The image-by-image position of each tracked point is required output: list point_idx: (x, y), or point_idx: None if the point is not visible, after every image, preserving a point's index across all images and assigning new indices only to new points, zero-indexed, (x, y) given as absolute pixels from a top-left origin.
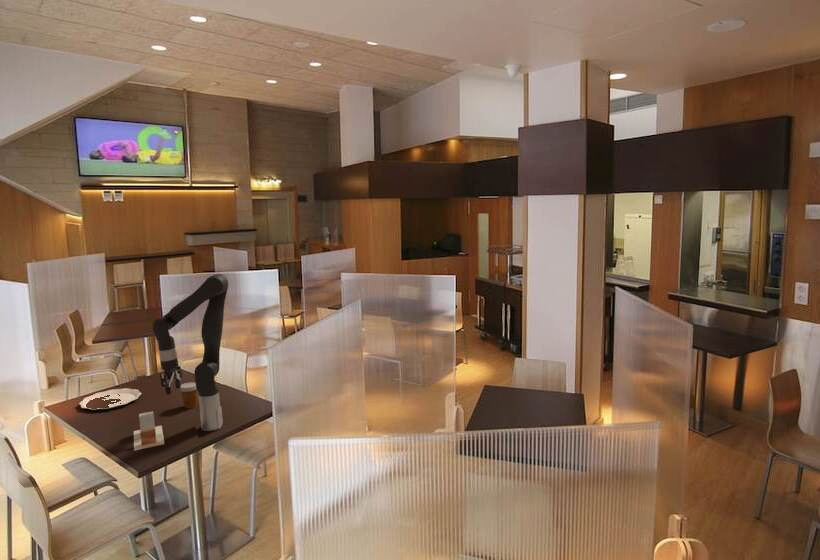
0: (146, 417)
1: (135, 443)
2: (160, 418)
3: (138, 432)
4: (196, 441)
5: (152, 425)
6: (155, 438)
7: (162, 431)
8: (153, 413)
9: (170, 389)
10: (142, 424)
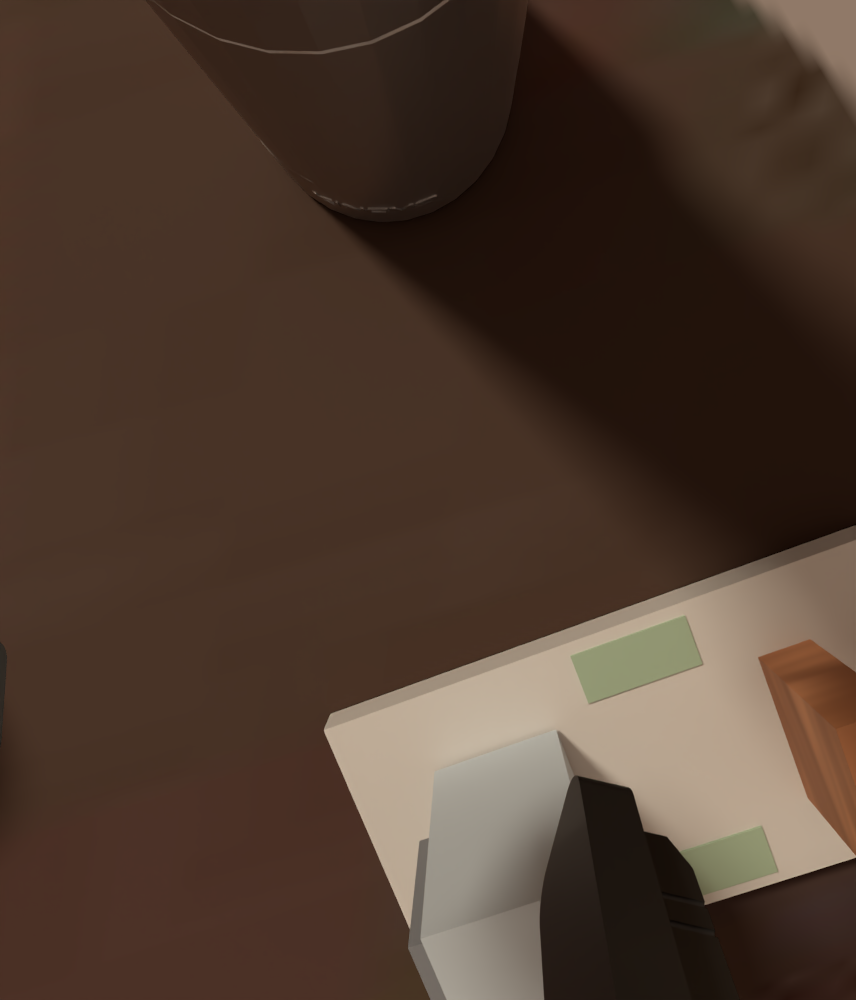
0: None
1: (783, 865)
2: (48, 814)
3: None
4: (787, 174)
5: None
6: (836, 664)
7: (505, 665)
8: (520, 906)
9: (624, 889)
10: None
